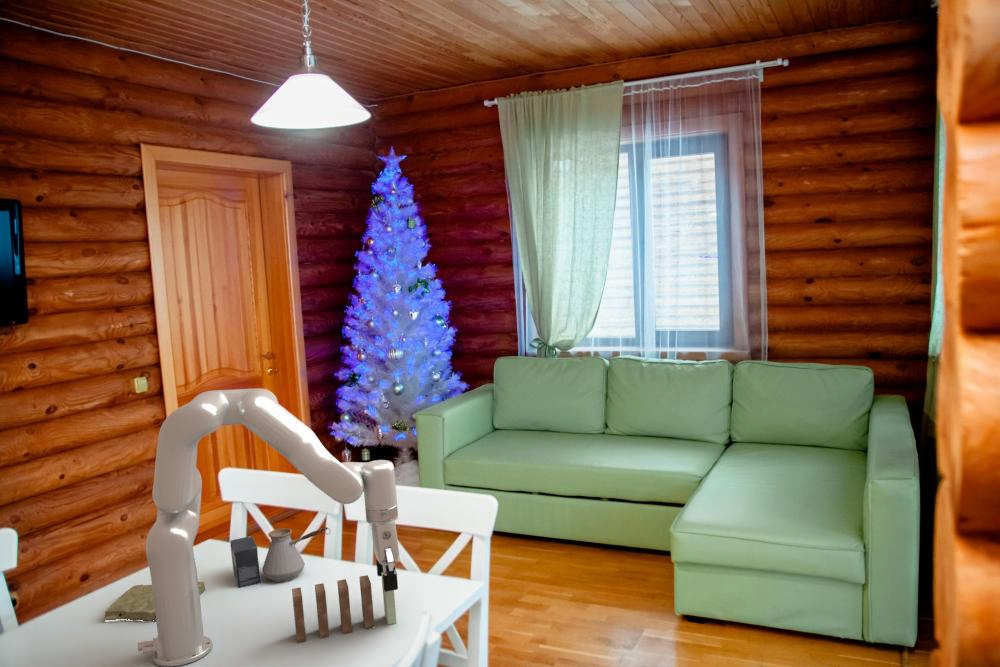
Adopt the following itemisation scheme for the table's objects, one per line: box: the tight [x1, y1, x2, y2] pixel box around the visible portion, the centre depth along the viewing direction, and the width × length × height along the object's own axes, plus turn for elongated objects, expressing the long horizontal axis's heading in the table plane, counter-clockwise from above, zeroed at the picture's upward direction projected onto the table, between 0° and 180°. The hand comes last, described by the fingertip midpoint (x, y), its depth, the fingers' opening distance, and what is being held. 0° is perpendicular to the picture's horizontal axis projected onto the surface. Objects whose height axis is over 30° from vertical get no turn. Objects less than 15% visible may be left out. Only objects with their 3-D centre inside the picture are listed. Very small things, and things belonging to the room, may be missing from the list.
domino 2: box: [314, 582, 330, 639], centre depth 187 cm, size 2×5×11 cm, turn 18°
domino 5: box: [381, 572, 398, 626], centre depth 191 cm, size 2×5×11 cm, turn 17°
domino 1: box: [291, 587, 307, 644], centre depth 185 cm, size 2×5×11 cm, turn 18°
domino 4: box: [358, 574, 375, 630], centre depth 190 cm, size 2×5×11 cm, turn 18°
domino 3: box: [336, 579, 353, 635], centre depth 188 cm, size 2×5×11 cm, turn 18°
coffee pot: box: [262, 526, 331, 583], centre depth 221 cm, size 21×12×15 cm, turn 71°
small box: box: [230, 535, 262, 589], centre depth 222 cm, size 11×6×10 cm, turn 25°
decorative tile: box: [103, 581, 206, 622], centre depth 208 cm, size 19×20×4 cm
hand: (387, 582), depth 191 cm, fingers open, 9 cm apart
